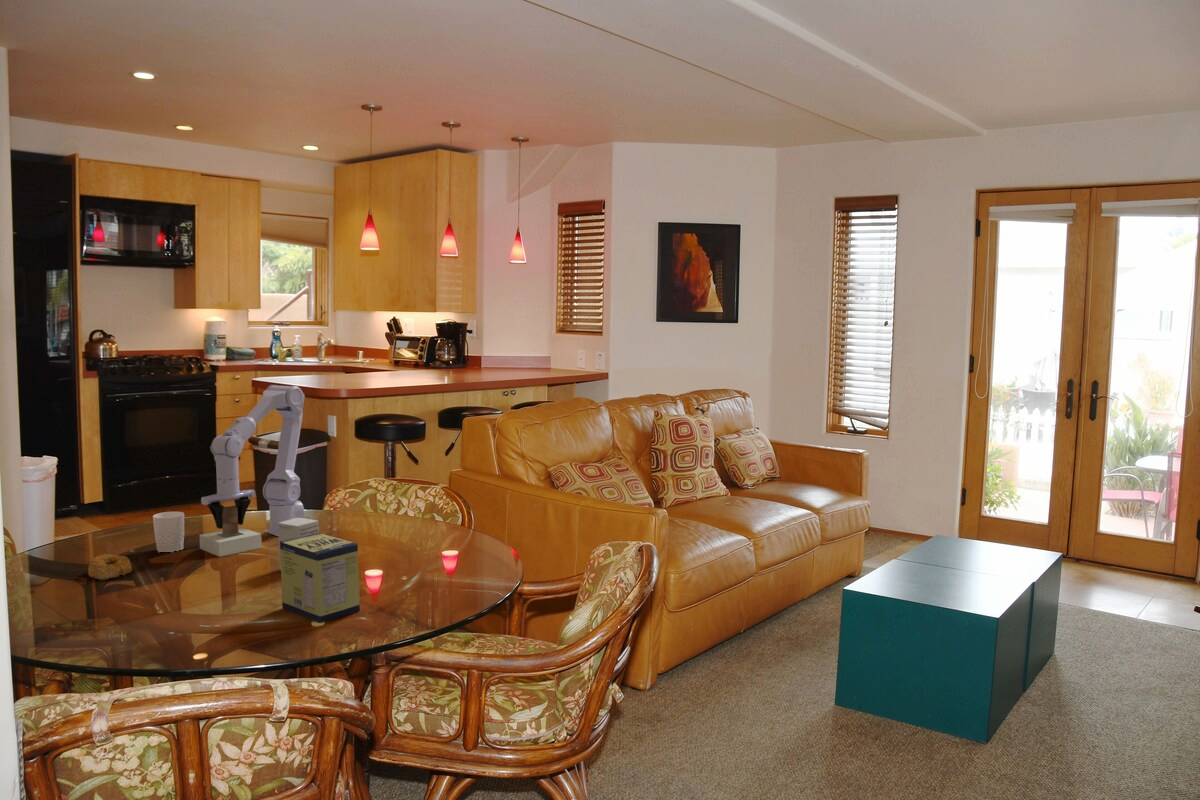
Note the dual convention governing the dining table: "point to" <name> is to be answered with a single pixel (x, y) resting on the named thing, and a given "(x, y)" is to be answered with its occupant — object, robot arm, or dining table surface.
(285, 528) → the supplement box
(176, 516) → the white cup
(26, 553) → the dining table surface
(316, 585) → the protein box
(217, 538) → the socket block
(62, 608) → the dining table surface
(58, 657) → the dining table surface
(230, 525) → the peg
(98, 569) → the bagel
